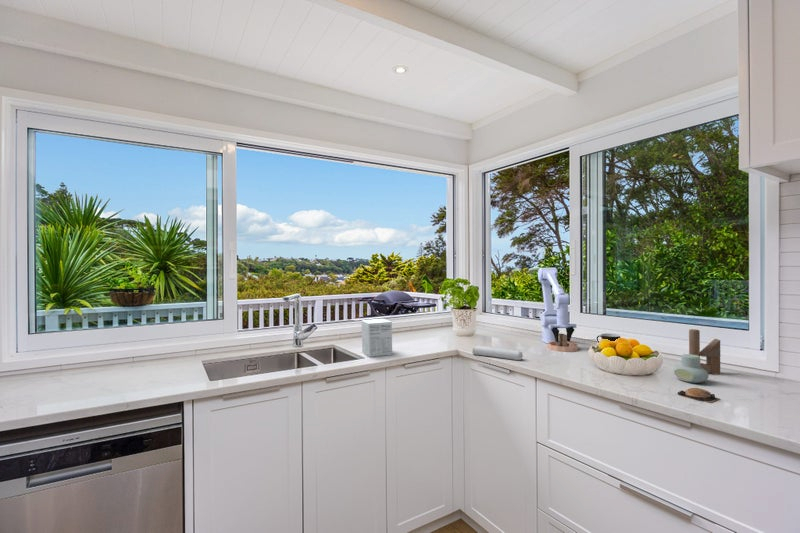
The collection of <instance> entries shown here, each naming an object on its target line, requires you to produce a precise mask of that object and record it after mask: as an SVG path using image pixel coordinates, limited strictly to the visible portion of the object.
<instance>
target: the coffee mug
mask: <svg viewBox="0 0 800 533" xmlns="http://www.w3.org/2000/svg"><path fill="white" fill-rule="evenodd" d="M599 337H601V340H602V339H608V340H610V341H615V340H616V339H618V338H620V339H621V334H616V333H601V334H600V335H597V336H596V341H597V342H598V344H599V342H600V341H599Z"/></svg>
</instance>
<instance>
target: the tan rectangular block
mask: <svg viewBox="0 0 800 533" xmlns="http://www.w3.org/2000/svg"><path fill="white" fill-rule="evenodd" d="M567 342H568V341H567V334H564V333H559V343H560V344H561V347H567Z"/></svg>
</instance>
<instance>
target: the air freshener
mask: <svg viewBox="0 0 800 533" xmlns="http://www.w3.org/2000/svg"><path fill="white" fill-rule="evenodd" d="M700 363H701V356H700V357H699V356H697V355H692V354H689V353H683V354H681V364H680V365H677V366H675V368H674V370H673V374H674V375H675V377H677V379H679V380H680V381H682V382H685V383H689V384H690V383H691V384H692V383H693V384H698V383H699V384H700V383H703V382H705V381H708V379H709V374H708V372H707V371H706V370H705V369H703V368H702V367H700Z"/></svg>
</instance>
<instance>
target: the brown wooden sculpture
mask: <svg viewBox="0 0 800 533" xmlns="http://www.w3.org/2000/svg"><path fill="white" fill-rule="evenodd" d="M700 335H701V334H700V330H699V329H697V328H696V329H693V328H691V329H690V328H689V329H688V341H689V342H688V354H692V355H697V356H699V357H700V358H701V357H703V358H704V357H705V359H706V361H705V362H706V363H704V362H703V363H702V362H700V367H702V368H703V369H705V370H706V371H707V372H708V374H711V375H721V340H720V339H717V338H713V339H712V341H710V342H709V343H708V344H707V345H705V347H703V348H702V349H700V345H701V343H700V342H701V341H700V338H701V336H700Z"/></svg>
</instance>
